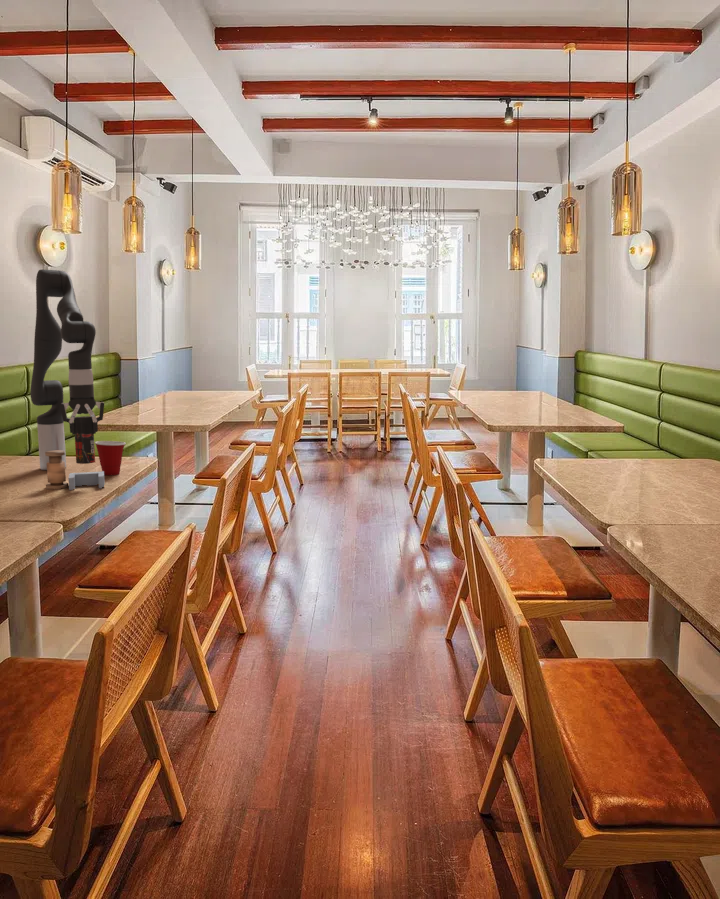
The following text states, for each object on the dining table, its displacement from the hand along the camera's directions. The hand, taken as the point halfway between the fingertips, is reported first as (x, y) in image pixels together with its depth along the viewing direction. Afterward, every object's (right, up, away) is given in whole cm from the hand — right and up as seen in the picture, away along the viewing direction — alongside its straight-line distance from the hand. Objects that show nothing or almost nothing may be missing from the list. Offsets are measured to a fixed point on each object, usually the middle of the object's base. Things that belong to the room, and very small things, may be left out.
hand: (84, 433), depth 248 cm
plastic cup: (+1, -14, +26) cm, 30 cm away
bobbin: (-10, -18, +3) cm, 21 cm away
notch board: (0, -18, +4) cm, 18 cm away
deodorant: (0, -10, +1) cm, 10 cm away
